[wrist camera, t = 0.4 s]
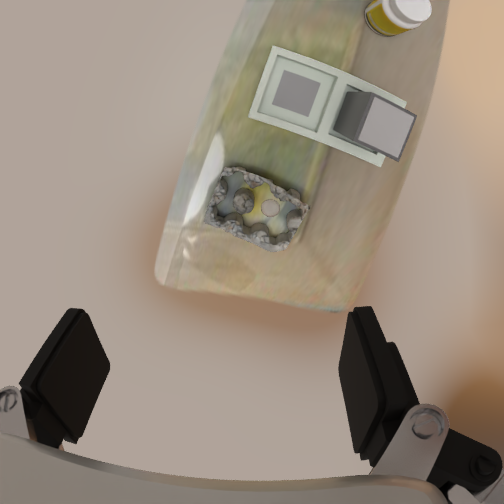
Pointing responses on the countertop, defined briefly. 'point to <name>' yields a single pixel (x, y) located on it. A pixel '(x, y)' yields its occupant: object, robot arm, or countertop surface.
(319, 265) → the countertop surface
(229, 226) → the egg carton
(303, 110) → the power strip
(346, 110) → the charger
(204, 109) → the countertop surface
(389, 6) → the supplement bottle
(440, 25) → the countertop surface
